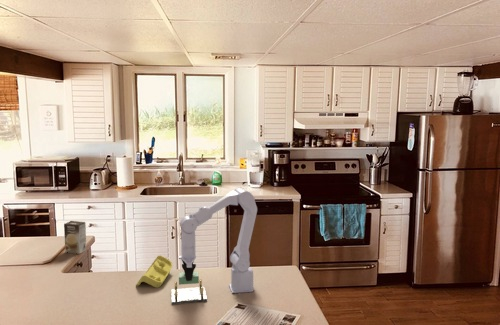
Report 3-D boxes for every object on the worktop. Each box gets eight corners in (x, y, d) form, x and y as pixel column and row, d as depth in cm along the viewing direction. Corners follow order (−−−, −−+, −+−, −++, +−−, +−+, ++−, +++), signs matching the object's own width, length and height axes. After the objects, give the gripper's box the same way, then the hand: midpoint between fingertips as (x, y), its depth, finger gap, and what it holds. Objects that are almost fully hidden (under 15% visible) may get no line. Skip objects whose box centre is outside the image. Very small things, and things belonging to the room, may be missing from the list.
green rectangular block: (198, 278, 158) (198, 271, 157) (198, 283, 153) (198, 276, 152) (178, 279, 156) (178, 272, 156) (178, 284, 151) (178, 277, 151)
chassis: (204, 288, 162) (204, 277, 162) (206, 301, 152) (206, 289, 151) (171, 291, 159) (171, 280, 159) (171, 304, 149) (171, 292, 148)
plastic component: (161, 284, 161) (140, 273, 161) (154, 297, 163) (134, 287, 163) (175, 262, 181) (156, 253, 181) (169, 274, 182) (151, 265, 182)
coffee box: (64, 252, 201) (63, 223, 199) (72, 248, 208) (70, 220, 206) (79, 254, 200) (78, 225, 198) (87, 249, 206) (85, 221, 204)
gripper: (178, 240, 159) (178, 270, 161) (178, 252, 145) (179, 286, 147) (194, 239, 160) (195, 269, 162) (197, 251, 146) (197, 284, 148)
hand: (188, 277), depth 154 cm, fingers closed on green rectangular block, 5 cm apart
